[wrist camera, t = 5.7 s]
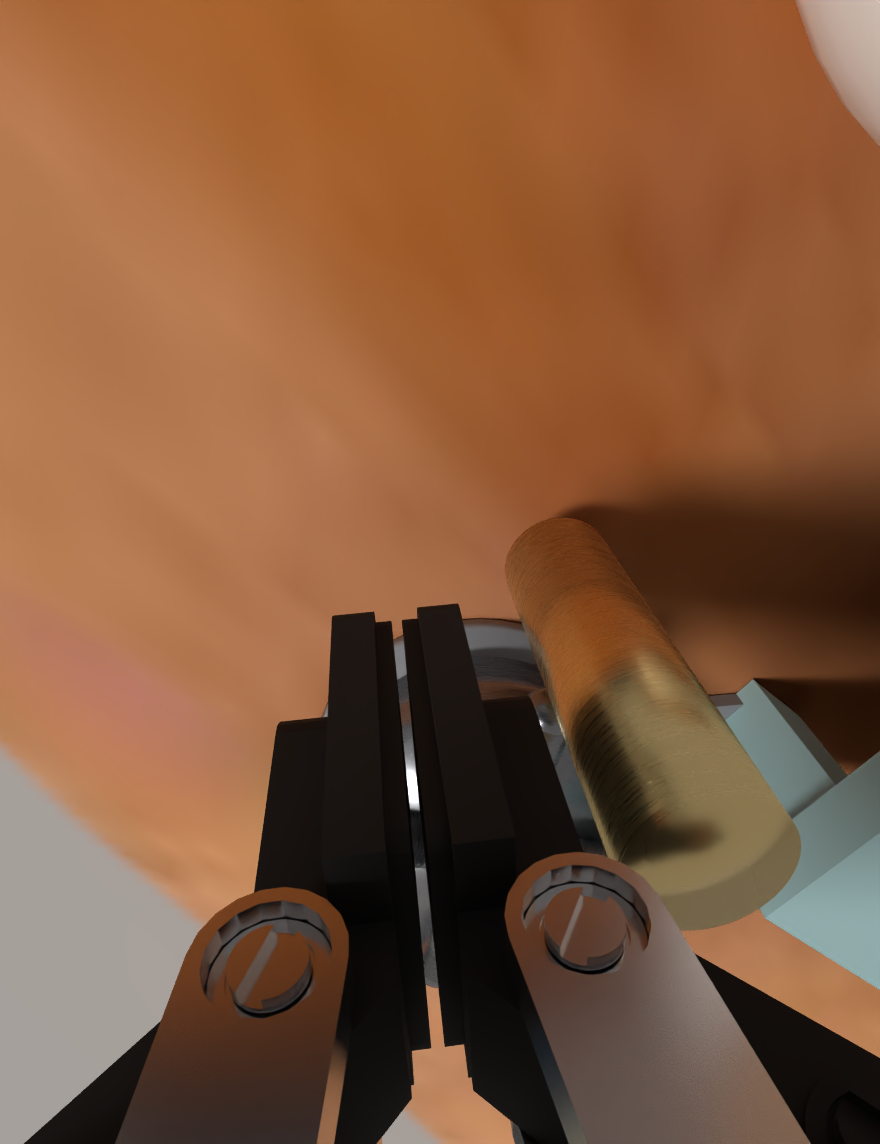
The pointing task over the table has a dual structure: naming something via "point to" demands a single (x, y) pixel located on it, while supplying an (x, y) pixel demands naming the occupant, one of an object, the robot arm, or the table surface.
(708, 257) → the table surface
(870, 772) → the spoked knob panel
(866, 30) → the lidded jar
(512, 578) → the cross handle valve
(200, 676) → the table surface
